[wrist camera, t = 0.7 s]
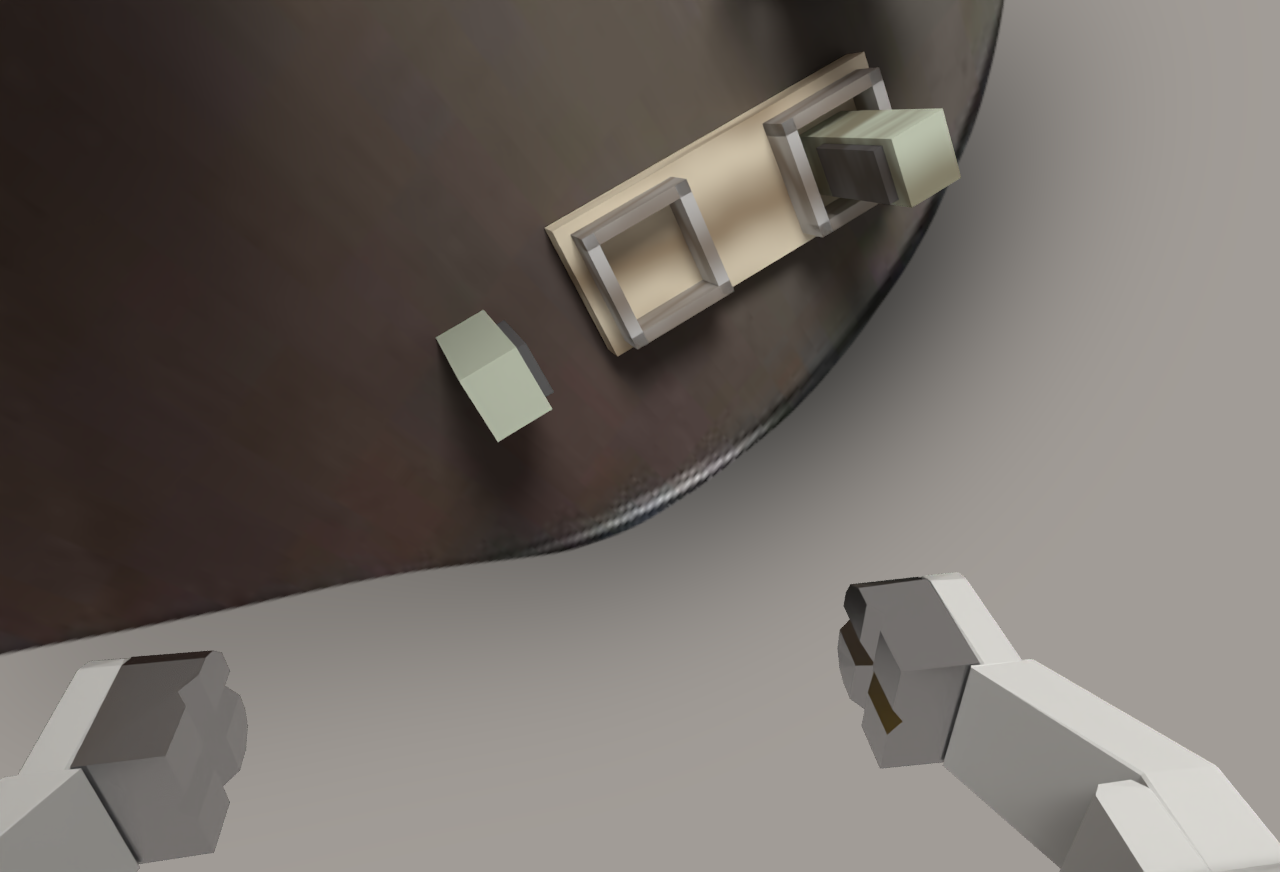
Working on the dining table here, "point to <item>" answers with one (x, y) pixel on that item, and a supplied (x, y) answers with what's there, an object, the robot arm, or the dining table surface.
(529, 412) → the block
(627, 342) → the cream peg holder
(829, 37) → the dining table surface
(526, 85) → the dining table surface
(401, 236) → the dining table surface
